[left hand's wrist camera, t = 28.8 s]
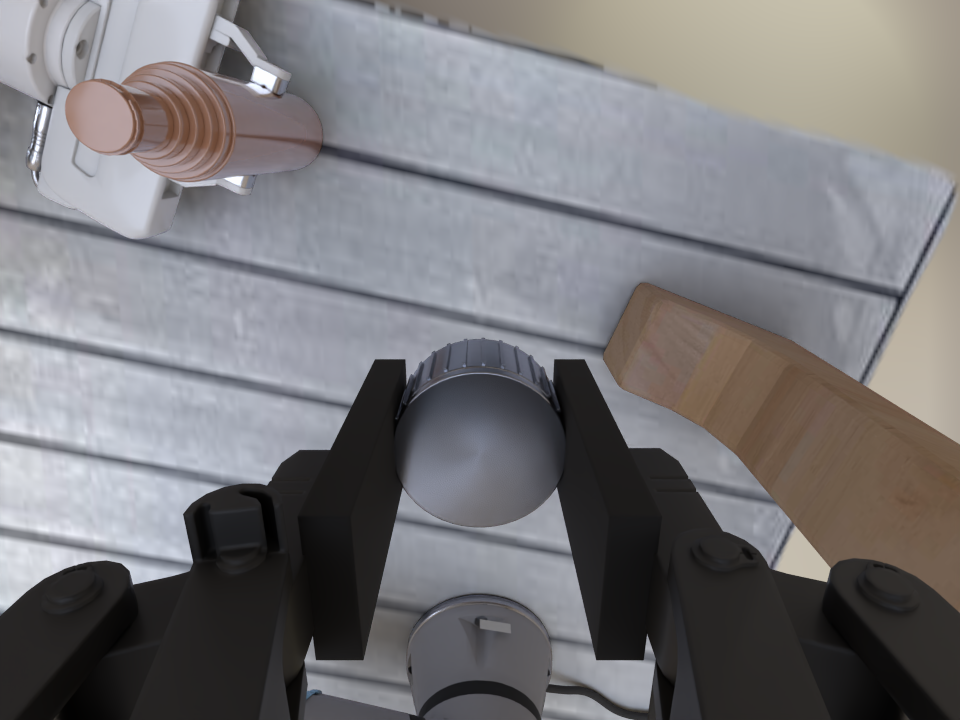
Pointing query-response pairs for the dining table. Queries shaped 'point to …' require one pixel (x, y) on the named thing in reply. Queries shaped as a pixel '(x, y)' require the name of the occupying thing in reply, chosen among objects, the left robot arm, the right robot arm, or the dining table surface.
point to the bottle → (194, 123)
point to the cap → (479, 434)
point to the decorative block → (801, 434)
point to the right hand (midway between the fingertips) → (268, 135)
